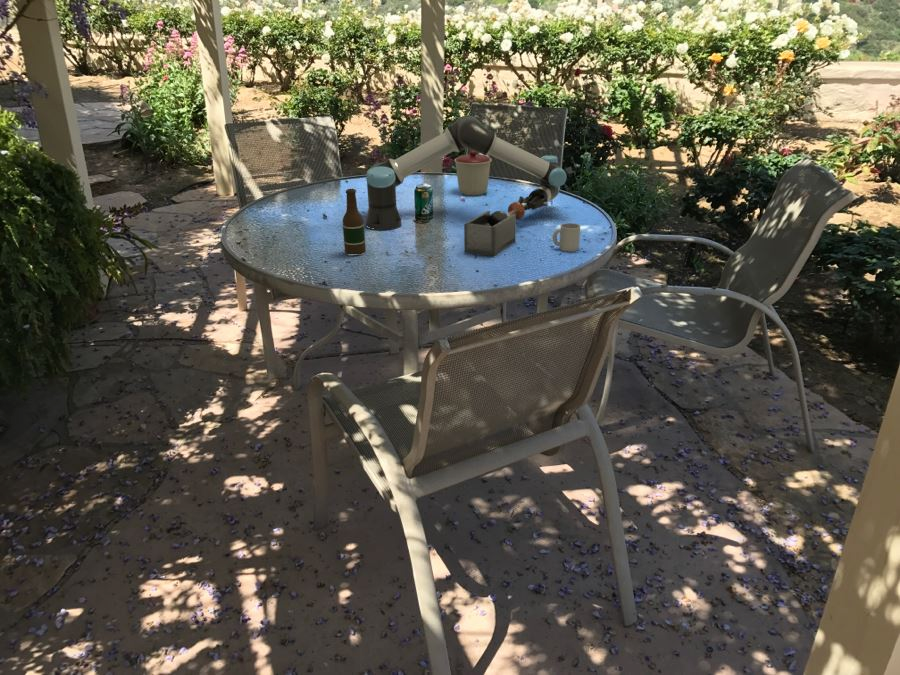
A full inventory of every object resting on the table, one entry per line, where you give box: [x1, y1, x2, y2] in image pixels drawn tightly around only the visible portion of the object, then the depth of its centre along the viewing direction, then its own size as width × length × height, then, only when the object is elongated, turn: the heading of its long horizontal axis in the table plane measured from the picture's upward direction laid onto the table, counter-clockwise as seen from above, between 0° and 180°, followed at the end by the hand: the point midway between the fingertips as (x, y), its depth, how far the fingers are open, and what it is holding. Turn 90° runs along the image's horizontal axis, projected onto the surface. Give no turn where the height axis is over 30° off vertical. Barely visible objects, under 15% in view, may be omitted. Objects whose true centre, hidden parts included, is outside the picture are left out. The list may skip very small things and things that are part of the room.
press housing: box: [463, 210, 517, 258], centre depth 265 cm, size 20×12×11 cm, turn 152°
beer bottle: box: [342, 188, 367, 255], centre depth 258 cm, size 8×8×24 cm
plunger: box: [489, 201, 526, 226], centre depth 277 cm, size 18×8×8 cm, turn 152°
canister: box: [453, 149, 493, 197], centre depth 340 cm, size 18×18×21 cm
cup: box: [552, 222, 581, 253], centre depth 262 cm, size 7×10×9 cm
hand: (518, 210), depth 285 cm, fingers closed
